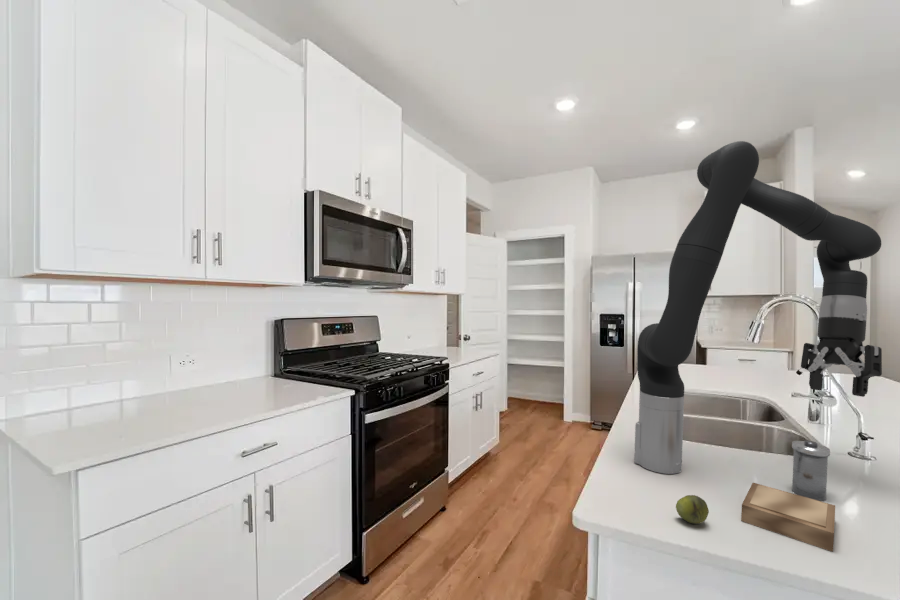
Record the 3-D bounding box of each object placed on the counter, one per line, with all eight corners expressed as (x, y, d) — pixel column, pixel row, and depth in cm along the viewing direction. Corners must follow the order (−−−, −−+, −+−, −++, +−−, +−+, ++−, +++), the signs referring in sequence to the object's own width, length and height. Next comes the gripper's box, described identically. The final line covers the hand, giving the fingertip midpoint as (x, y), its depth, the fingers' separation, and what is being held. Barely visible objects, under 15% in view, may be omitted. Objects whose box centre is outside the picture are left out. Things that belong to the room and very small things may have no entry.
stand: (741, 520, 73) (741, 502, 73) (752, 497, 82) (752, 481, 81) (833, 551, 65) (834, 531, 64) (834, 521, 73) (835, 504, 73)
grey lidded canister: (788, 494, 83) (791, 441, 83) (791, 484, 87) (793, 434, 87) (827, 505, 79) (830, 450, 79) (828, 494, 83) (830, 442, 83)
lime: (671, 519, 73) (672, 491, 73) (690, 513, 75) (691, 486, 75) (695, 532, 69) (696, 503, 69) (714, 526, 71) (715, 498, 71)
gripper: (795, 316, 95) (789, 385, 94) (864, 314, 81) (858, 395, 80) (823, 322, 96) (817, 390, 95) (896, 320, 82) (891, 401, 81)
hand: (836, 392), depth 87 cm, fingers open, 8 cm apart
